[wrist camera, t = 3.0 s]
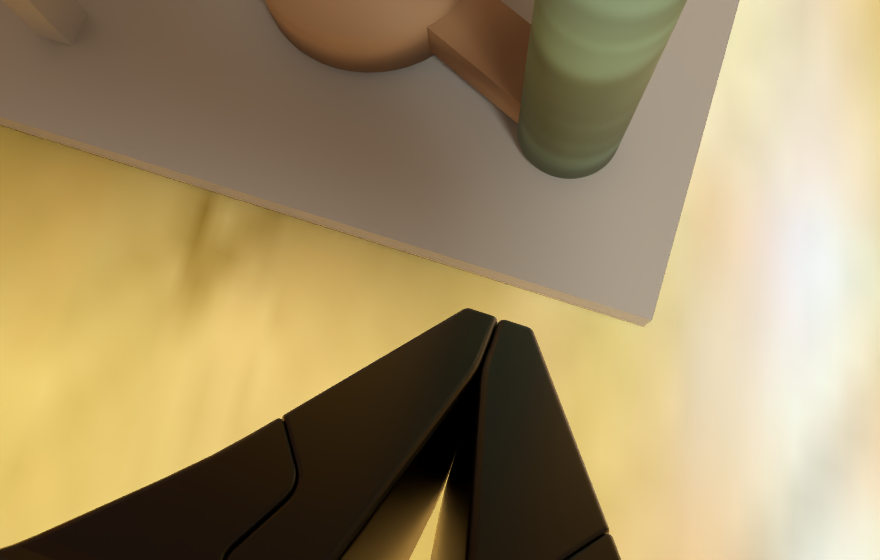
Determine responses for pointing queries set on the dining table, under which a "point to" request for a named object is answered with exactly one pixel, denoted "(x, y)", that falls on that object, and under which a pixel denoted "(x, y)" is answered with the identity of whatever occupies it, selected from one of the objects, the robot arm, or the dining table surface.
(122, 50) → the stand
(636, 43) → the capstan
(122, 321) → the dining table surface
